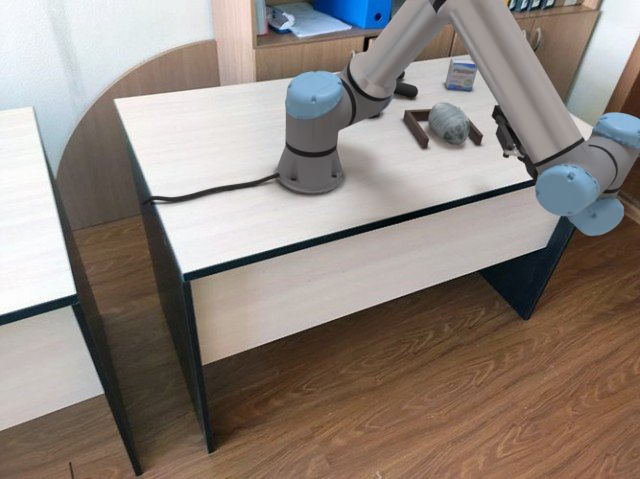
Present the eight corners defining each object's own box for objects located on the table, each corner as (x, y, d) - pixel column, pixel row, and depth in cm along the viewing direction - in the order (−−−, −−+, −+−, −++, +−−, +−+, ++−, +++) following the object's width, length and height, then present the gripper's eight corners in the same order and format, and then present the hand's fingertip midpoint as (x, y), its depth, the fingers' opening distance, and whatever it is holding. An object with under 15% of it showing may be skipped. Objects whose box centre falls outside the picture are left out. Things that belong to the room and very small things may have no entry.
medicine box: (446, 89, 161) (453, 62, 155) (444, 83, 164) (450, 57, 158) (471, 91, 161) (479, 64, 155) (469, 85, 164) (476, 58, 158)
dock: (422, 148, 132) (425, 138, 130) (403, 119, 144) (404, 110, 142) (480, 145, 135) (483, 135, 134) (456, 117, 147) (459, 107, 145)
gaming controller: (394, 84, 167) (371, 69, 162) (405, 69, 164) (382, 53, 159) (409, 107, 155) (385, 92, 150) (422, 92, 152) (397, 76, 147)
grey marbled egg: (481, 138, 132) (470, 104, 127) (448, 155, 132) (436, 122, 127) (459, 124, 143) (448, 92, 139) (429, 140, 144) (417, 109, 139)
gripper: (516, 189, 96) (464, 127, 113) (577, 184, 99) (517, 124, 116) (530, 155, 91) (473, 95, 108) (593, 151, 94) (528, 93, 111)
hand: (496, 110), depth 112 cm, fingers closed
